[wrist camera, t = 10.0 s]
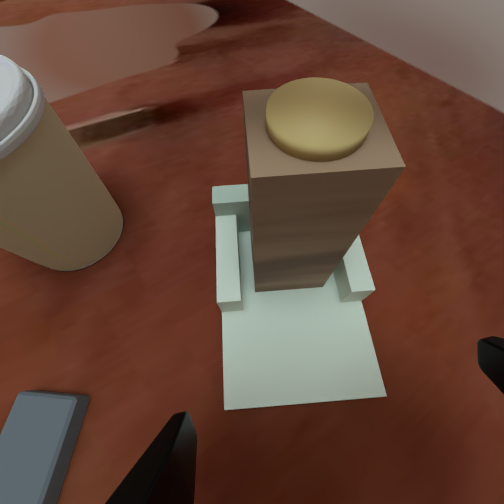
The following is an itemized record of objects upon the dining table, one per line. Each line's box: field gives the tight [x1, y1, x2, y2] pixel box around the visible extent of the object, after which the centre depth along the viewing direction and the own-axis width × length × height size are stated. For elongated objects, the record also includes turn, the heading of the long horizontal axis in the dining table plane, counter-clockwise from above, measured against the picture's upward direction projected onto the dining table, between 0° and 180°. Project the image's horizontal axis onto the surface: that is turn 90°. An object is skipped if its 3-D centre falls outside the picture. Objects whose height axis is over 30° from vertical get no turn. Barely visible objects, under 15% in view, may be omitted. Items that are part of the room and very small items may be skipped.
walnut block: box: [243, 78, 406, 292], centre depth 14 cm, size 4×5×13 cm
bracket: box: [0, 390, 90, 504], centre depth 15 cm, size 4×10×2 cm, turn 175°
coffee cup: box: [0, 55, 123, 271], centre depth 18 cm, size 9×9×12 cm
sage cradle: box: [212, 184, 387, 410], centre depth 18 cm, size 14×10×5 cm
